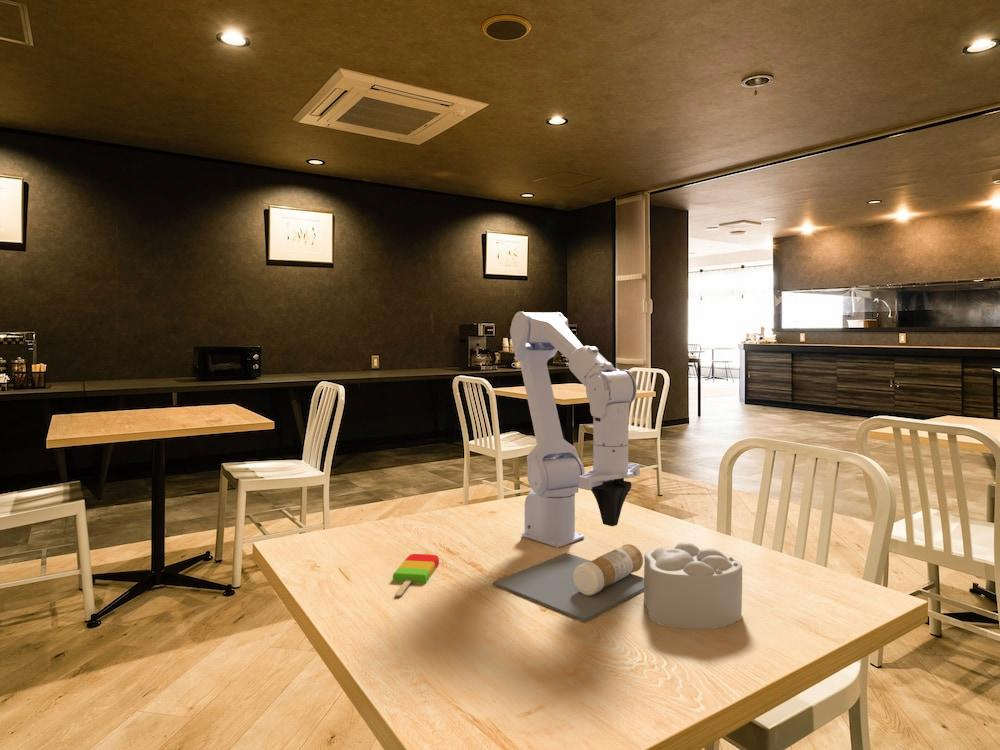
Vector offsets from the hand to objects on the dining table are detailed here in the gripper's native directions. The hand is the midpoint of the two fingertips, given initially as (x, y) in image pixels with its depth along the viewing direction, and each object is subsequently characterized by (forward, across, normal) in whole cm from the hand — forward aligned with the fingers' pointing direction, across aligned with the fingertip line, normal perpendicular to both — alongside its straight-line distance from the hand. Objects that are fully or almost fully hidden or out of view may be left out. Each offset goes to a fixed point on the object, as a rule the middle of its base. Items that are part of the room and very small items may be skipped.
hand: (610, 524), depth 102 cm
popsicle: (+8, -26, +20) cm, 34 cm away
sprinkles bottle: (+5, +1, -4) cm, 6 cm away
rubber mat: (+7, -10, 0) cm, 12 cm away
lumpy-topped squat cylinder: (+8, -5, -18) cm, 20 cm away
